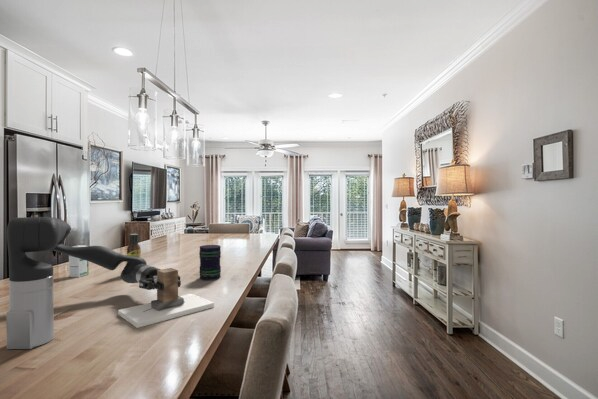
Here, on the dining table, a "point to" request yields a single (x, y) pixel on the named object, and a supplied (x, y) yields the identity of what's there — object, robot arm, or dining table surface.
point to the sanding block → (167, 290)
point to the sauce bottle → (133, 246)
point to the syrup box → (78, 266)
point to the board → (163, 311)
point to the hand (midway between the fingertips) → (171, 285)
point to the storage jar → (210, 262)
